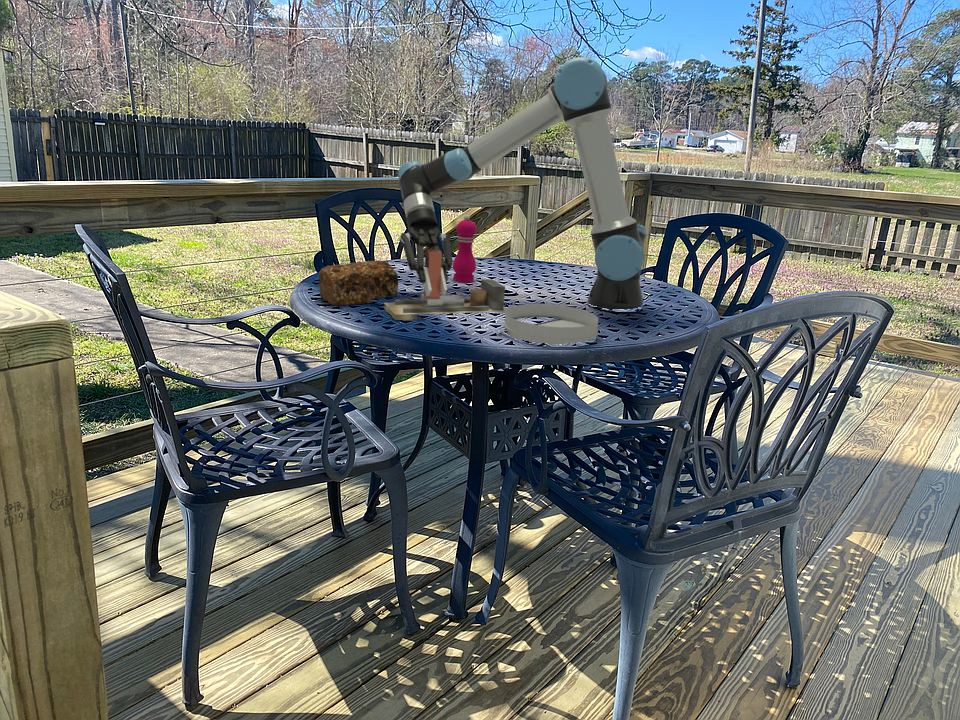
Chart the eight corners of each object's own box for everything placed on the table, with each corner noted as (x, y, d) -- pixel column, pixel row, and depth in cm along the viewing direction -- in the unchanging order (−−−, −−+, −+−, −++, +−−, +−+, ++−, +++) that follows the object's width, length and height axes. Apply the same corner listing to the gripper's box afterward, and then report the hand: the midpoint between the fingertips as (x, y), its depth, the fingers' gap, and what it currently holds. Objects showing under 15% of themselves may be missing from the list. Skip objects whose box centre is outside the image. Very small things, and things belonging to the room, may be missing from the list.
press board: (493, 305, 197) (495, 278, 195) (510, 316, 187) (512, 287, 184) (383, 308, 187) (384, 279, 184) (395, 320, 176) (395, 290, 174)
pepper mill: (474, 283, 223) (478, 217, 217) (451, 282, 223) (454, 215, 217) (475, 279, 230) (479, 214, 224) (452, 277, 230) (455, 212, 224)
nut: (488, 305, 190) (489, 290, 188) (480, 308, 186) (480, 293, 185) (475, 303, 192) (475, 288, 190) (466, 306, 188) (467, 290, 187)
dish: (497, 343, 164) (499, 322, 162) (507, 319, 185) (509, 300, 183) (597, 353, 161) (600, 331, 160) (596, 328, 182) (598, 308, 181)
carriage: (457, 302, 190) (460, 248, 186) (465, 308, 185) (468, 252, 181) (420, 303, 187) (422, 248, 182) (427, 309, 181) (429, 252, 177)
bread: (382, 293, 204) (383, 257, 200) (399, 302, 195) (400, 265, 192) (317, 298, 194) (317, 260, 191) (332, 307, 185) (332, 268, 182)
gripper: (447, 224, 196) (464, 300, 186) (386, 224, 190) (401, 301, 180) (454, 206, 189) (472, 284, 180) (392, 205, 184) (407, 285, 174)
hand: (436, 292), depth 180 cm, fingers closed on carriage, 3 cm apart
